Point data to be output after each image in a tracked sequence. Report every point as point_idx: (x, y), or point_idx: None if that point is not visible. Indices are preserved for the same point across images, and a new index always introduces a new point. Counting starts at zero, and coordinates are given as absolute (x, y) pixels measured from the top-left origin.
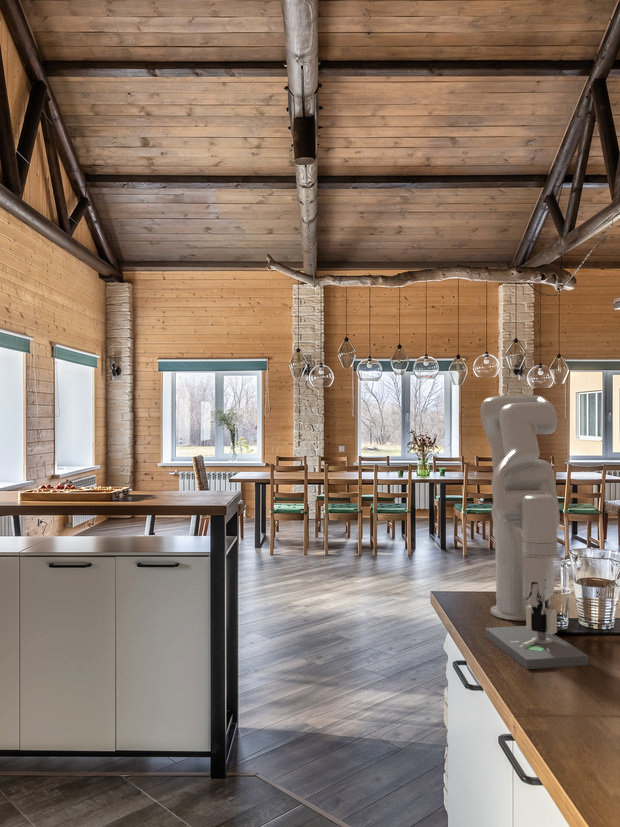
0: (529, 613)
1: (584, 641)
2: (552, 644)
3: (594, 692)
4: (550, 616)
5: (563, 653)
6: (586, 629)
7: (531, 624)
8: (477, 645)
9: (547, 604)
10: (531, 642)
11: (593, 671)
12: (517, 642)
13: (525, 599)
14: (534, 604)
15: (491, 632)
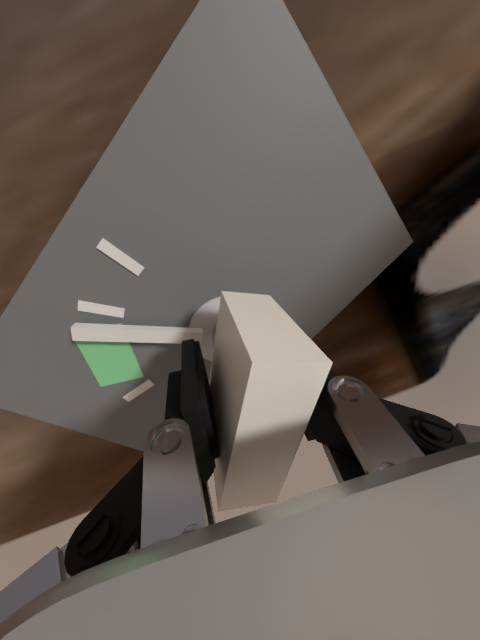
0: (234, 356)
1: (354, 364)
2: (209, 372)
3: (20, 513)
4: (216, 474)
5: (146, 427)
6: (453, 328)
7: (182, 355)
8: (32, 6)
9: (332, 466)
10: (133, 339)
11: None
12: (126, 270)
13: (4, 623)
14: None
15: (178, 43)
